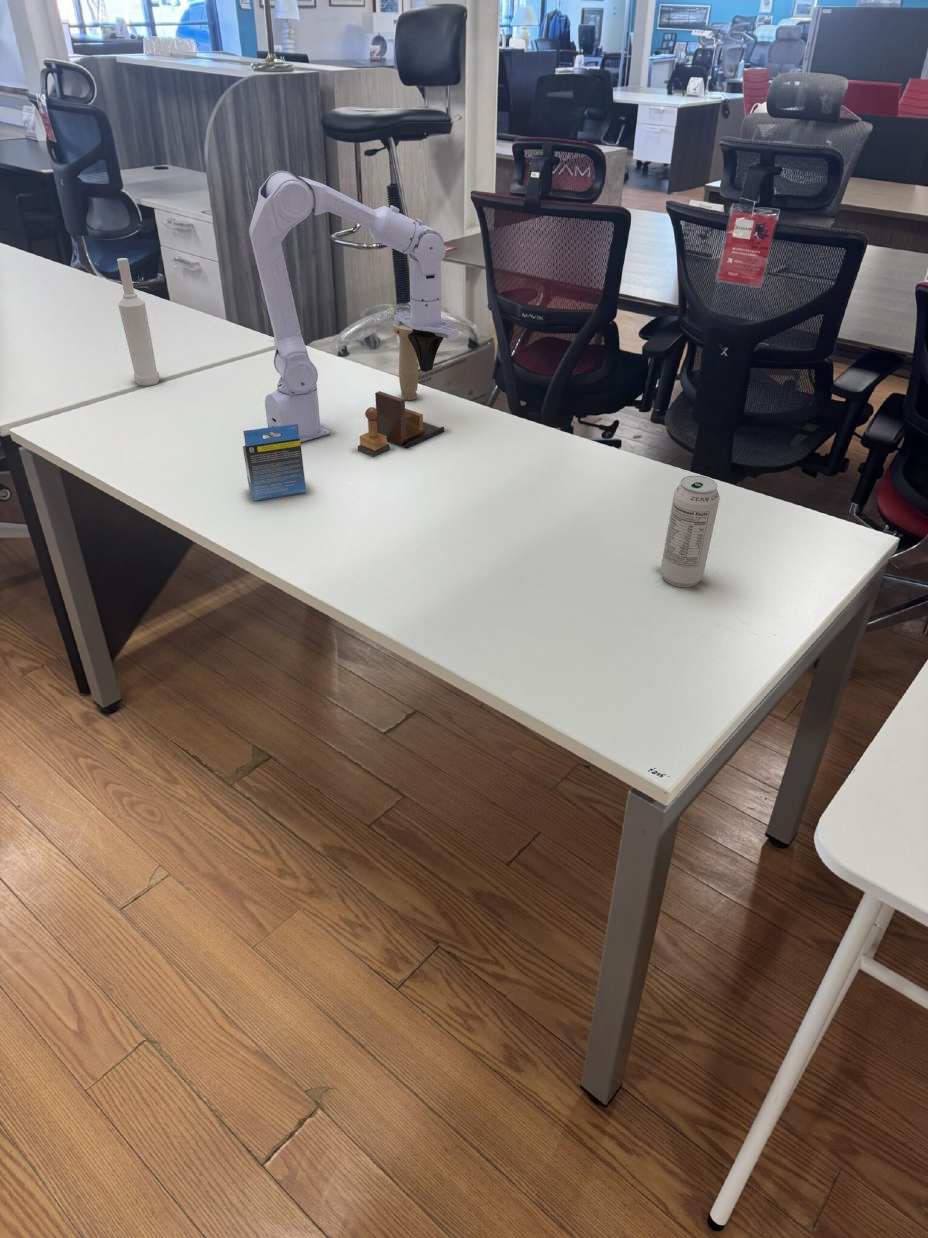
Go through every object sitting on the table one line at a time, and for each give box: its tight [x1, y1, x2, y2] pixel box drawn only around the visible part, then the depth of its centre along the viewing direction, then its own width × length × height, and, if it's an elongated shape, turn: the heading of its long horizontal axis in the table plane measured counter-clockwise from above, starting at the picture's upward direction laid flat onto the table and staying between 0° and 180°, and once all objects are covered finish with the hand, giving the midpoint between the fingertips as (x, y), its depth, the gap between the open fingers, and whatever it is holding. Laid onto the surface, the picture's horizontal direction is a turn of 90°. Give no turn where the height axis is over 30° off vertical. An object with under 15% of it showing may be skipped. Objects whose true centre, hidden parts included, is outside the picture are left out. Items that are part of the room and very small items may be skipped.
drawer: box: [374, 390, 425, 444], centre depth 157 cm, size 7×6×8 cm
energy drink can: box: [660, 475, 721, 588], centre depth 117 cm, size 6×6×15 cm
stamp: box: [357, 406, 391, 458], centre depth 154 cm, size 8×4×7 cm
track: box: [387, 421, 445, 449], centre depth 161 cm, size 10×8×1 cm
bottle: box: [116, 257, 160, 387], centre depth 175 cm, size 5×5×25 cm
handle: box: [391, 322, 419, 401], centre depth 173 cm, size 5×6×15 cm
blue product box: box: [242, 424, 307, 502], centre depth 138 cm, size 9×4×12 cm, turn 111°
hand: (426, 369), depth 164 cm, fingers closed
